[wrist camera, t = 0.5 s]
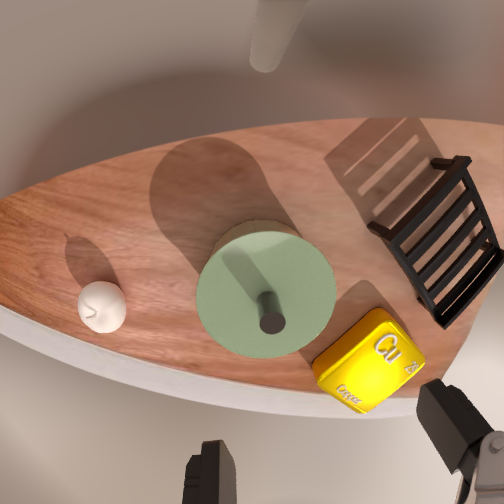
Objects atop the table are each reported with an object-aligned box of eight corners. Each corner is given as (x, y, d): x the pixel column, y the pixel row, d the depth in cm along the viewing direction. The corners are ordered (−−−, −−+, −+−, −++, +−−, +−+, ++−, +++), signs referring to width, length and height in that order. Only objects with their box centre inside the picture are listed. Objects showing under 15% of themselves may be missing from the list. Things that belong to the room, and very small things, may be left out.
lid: (168, 295, 31) (157, 321, 26) (271, 197, 29) (279, 206, 23) (262, 372, 35) (266, 403, 30) (358, 295, 32) (377, 318, 27)
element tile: (305, 365, 44) (312, 384, 40) (378, 301, 42) (392, 316, 37) (355, 401, 48) (363, 419, 44) (418, 348, 45) (430, 363, 41)
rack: (362, 226, 38) (389, 241, 31) (434, 154, 36) (469, 156, 28) (418, 306, 43) (444, 330, 35) (478, 241, 40) (509, 255, 32)
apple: (115, 264, 38) (91, 287, 30) (142, 306, 40) (125, 336, 32) (81, 284, 39) (56, 309, 31) (108, 323, 41) (88, 353, 33)
